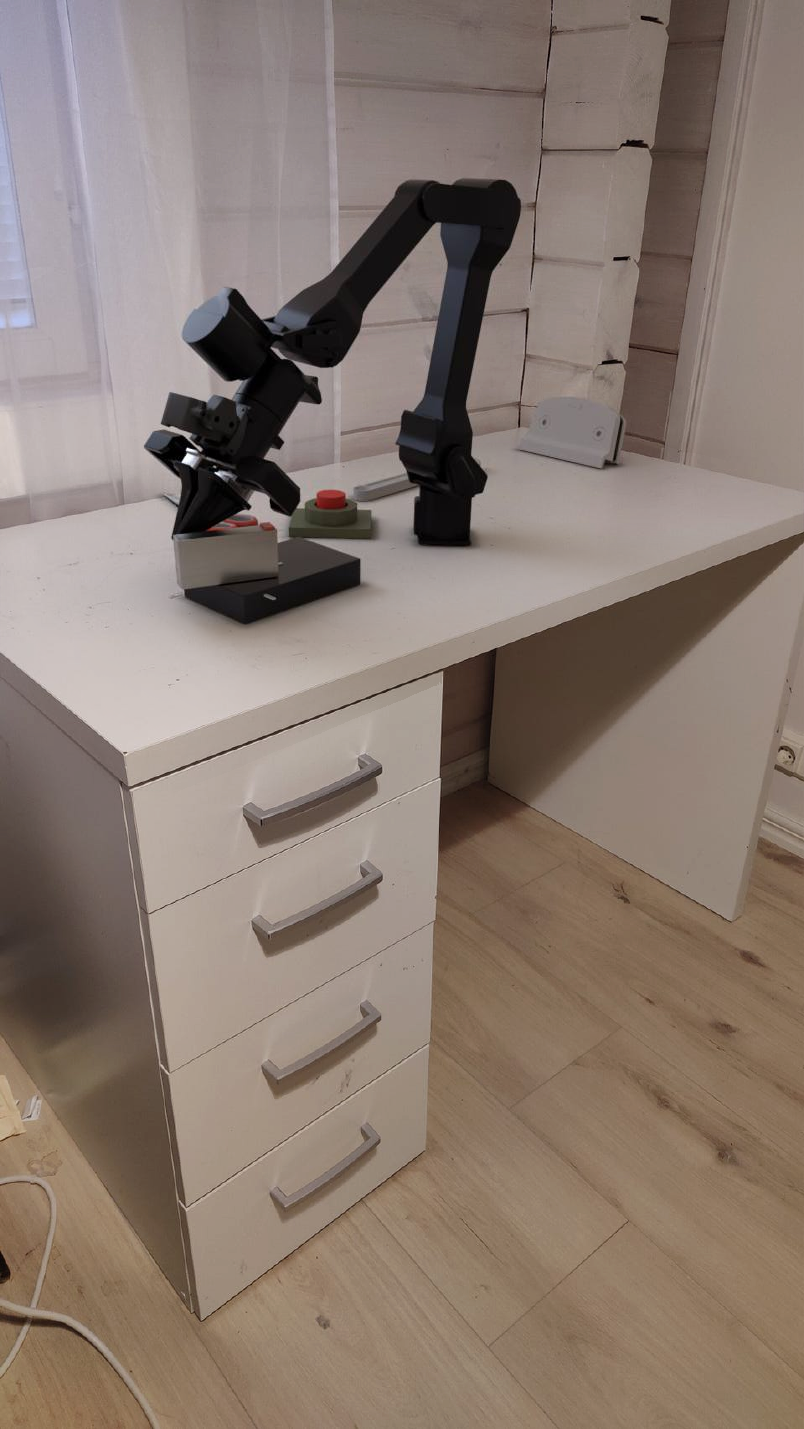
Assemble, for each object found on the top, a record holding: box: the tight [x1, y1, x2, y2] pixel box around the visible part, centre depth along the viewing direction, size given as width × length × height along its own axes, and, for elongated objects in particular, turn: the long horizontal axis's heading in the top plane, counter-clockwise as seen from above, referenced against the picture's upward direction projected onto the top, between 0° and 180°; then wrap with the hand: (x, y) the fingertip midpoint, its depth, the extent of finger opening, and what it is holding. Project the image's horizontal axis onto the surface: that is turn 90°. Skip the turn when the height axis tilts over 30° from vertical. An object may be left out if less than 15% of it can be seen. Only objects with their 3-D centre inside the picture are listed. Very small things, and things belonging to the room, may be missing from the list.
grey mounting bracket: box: [518, 396, 627, 469], centre depth 161 cm, size 17×5×10 cm, turn 47°
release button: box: [316, 489, 347, 509], centre depth 125 cm, size 4×4×2 cm
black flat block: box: [168, 537, 362, 625], centre depth 105 cm, size 14×22×3 cm, turn 137°
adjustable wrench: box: [352, 458, 482, 502], centre depth 146 cm, size 25×6×2 cm, turn 133°
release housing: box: [288, 497, 373, 539], centre depth 126 cm, size 10×8×3 cm
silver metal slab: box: [172, 521, 279, 591], centre depth 100 cm, size 10×2×5 cm, turn 115°
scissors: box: [162, 492, 259, 531], centre depth 129 cm, size 8×21×2 cm, turn 48°
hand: (176, 542), depth 99 cm, fingers closed
